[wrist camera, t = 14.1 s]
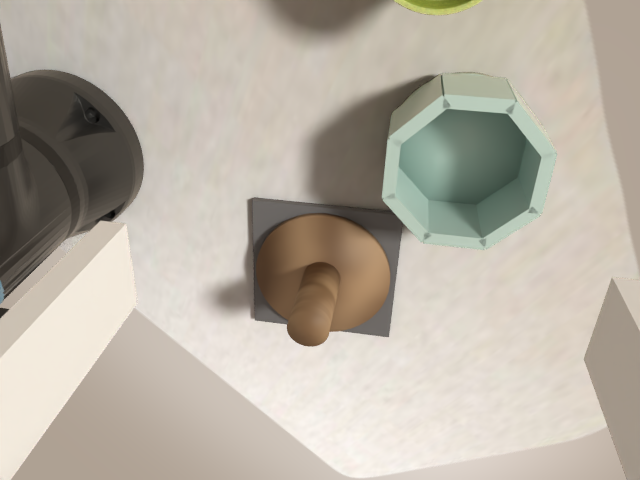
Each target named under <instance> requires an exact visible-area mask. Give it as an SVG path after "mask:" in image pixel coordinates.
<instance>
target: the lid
mask: <svg viewBox="0 0 640 480" xmlns="http://www.w3.org/2000/svg"><path fill="white" fill-rule="evenodd" d="M256 275H257V281H258V285H259V287H260V290H261V292H262V294H263V296H264V297H265V299H266V300H267V302H268V303H269V304H270V306H271V307H272V308H273V309H274V310H275V311H276V312H278V313H279V314H280V315H281V316H283V317H284V318H285V319H287V320H288V324H287V331H288V334H289V335H290V337H291V338H292V339H293V340H294V341H295V342H297V343H299V344H301V345H304V346H317V345H320V344H322V343H323V342H325V341H326V339H327V338H328V335H329V332H333V331H342V330H347V329H351V328H354V327H356V326H359V325H361V324H363V323H365V322H366V321H368V320H369V319H370V318H372V317H373V316H374V315H375V314H376V313H377V312H378V311H379V310H380V308H381V307H382V306H383V304H384V302H385V300H386V298H387V295H388V292H389V287H390V265H389V261H388V258H387V255H386V253H385V251H384V249H383V247H382V246H381V244H380V243H379V241H378V240H377V239H376V238H375V237H374V236H373V235H372V234H371V233H370V232H369V231H368V230H367V229H365V228H364V227H363V226H361V225H359V224H358V223H356V222H354V221H352V220H350V219H347V218H345V217H342V216H338V215H334V214H328V213H308V214H303V215H299V216H296V217H293V218H290V219H288V220H286V221H284V222H283V223H281V224H280V225H278V226H277V227H276V228H275V229H274V230H273V231H271V233H270V234H269V235H268V236H267V238H266V239H265V241H264V243H263V245H262V247H261V249H260V252H259V254H258V258H257V262H256Z"/></svg>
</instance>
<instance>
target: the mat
mask: <svg viewBox="0 0 640 480" xmlns="http://www.w3.org/2000/svg"><path fill="white" fill-rule="evenodd" d="M252 210H253V252H254V295H255V320H257V321H265V322H273V323H281V324H288V320H287V319H285V318H284V317H283V316H281V315H280V314H279V313H278V312H276V311H275V310H274V309H273V308H272V307H271V306H270V304H269V303H268V302H267V300H266V299H265V297H264V296H263V294H262V292H261V290H260V287H259V285H258V281H257V275H256V262H257V258H258V254H259V252H260V249H261V247H262V245H263V243H264V241H265V239H266V238H267V236H268V235H269V234H270V233H271V231H273V230H274V229H275V228H276V227H277V226H278V225H280V224H281V223H283V222H284V221H286V220H288V219H290V218H293V217H296V216H299V215H303V214H308V213H328V214H334V215H338V216H342V217H345V218H347V219H350V220H352V221H354V222H356V223H358V224H359V225H361V226H363V227H364V228H365V229H367V230H368V231H369V232H370V233H371V234H372V235H373V236H374V237H375V238H376V239H377V240H378V241H379V243H380V244H381V246H382V247H383V249H384V251H385V253H386V255H387V258H388V261H389V265H390V287H389V292H388V295H387V298H386V300H385V302H384V304H383V306H382V307H381V308H380V310H379V311H378V312H377V313H376V314H375V315H374V316H373V317H372V318H370V319H369V320H368V321H366V322H365V323H363V324H361V325H359V326H356V327H354V328H351V329H347V330H342V331H344V332H352V333H360V334H368V335H376V336H383V337H389V331H390V323H391V315H392V306H393V298H394V290H395V282H396V274H397V266H398V258H399V249H400V241H401V233H402V225H403V222H402V221H401V220H400V219H399V218H398V217H397V216H396V214H395V213H394V212H390V211H381V210H371V209H361V208H351V207H341V206H332V205H322V204H312V203H302V202H292V201H283V200H273V199H263V198H253V200H252Z"/></svg>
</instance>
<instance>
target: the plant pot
mask: <svg viewBox="0 0 640 480" xmlns="http://www.w3.org/2000/svg"><path fill="white" fill-rule="evenodd" d="M393 1H395V2H396V3H398V4H399V5H401V6H403V7H405V8H407V9H409V10H412V11H414V12H418V13H422V14H427V15H448V14H454V13H458V12H461V11H463V10H466V9H469V8H471V7H473V6H475V5H476V4H478V3H480V2H481V1H483V0H393Z"/></svg>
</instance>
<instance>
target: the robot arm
mask: <svg viewBox="0 0 640 480" xmlns="http://www.w3.org/2000/svg"><path fill="white" fill-rule="evenodd" d="M143 170H144V164H143V155H142V150H141V146H140V143H139V140H138V137H137V135H136V132H135V130H134V128H133V126H132V125H131V123H130V121H129V120H128V118H127V117H126V115H125V114H124V112H123V111H122V110H121V109H120V107H119V106H118V105H117V104H116V103H115V102H114V101H113V100H112V99H111V98H110V97H109V96H108V95H107V94H105V93H104V92H103V91H102V90H100V89H99V88H98V87H96V86H95V85H93V84H91V83H90V82H88V81H86V80H84V79H82V78H80V77H77V76H75V75H72V74H69V73H65V72H61V71H55V70H36V71H31V72H27V73H24V74H21V75H19V76H17V77H14V78H12V79H10V74H9V68H8V63H7V57H6V52H5V47H4V41H3V36H2V30H1V25H0V304H1V303H2V301H3V300H4V299H5V298H6V297H7V296H8V295H9V294H10V293H11V292H12V291H13V290H14V289H15V288H16V287H17V286H18V285H19V284H20V283H21V282H23V280H24V279H26V278H27V277H28V276H29V275H30V274H31V273H32V272H33V271H34V270H35V269H36V268H37V267H38V266H39V265H40V264H41V263H42V262H43V261H44V260H45V259H46V258H47V257H48V256H49V255H50V254H51V253H52V252H53V251H54V250H55V249H56V248H57V247H58V246H59V245H60V244H61V243H62V242H63V241H64V240H66V239H67V238H70V237H73V236H76V235H79V234H82V233H85V232H88V231H89V232H88V233H87V234H86V235H85V236H84V237H83V238H82V239H81V240H80V241H79V242H78V243H77V244H76V245H75V246H74V247H73V248H72V249H71V250H70V251H69V252H68V253H67V254H66V255H65V256H64V257H63V258H62V259H61V260H60V261H59V262H58V263H57V264H56V265H55V266H54V267H53V268H52V269H50V270H49V272H47V273H46V274H45V275H44V276H43V277H42V278H41V279H40V280H39V281H38V282H37V283H36V284H35V285H34V286H33V287H32V288H31V289H30V290H29V291H28V292H27V293H26V294H25V295H24V296H23V297H22V298H21V299H20V300H19V301H18V302H17V303H16V304H15V305H14V306H13V307H12V308H11V309H4V308H0V480H11V479H12V477H13V476H14V474H15V473H16V472H17V470H18V469H19V467H20V466H21V465H22V463H23V462H24V460H25V459H26V458H27V456H28V455H29V453H30V452H31V451H32V449H33V448H34V447H35V445H36V444H37V442H38V441H39V440H40V438H41V437H42V435H43V434H44V432H45V431H46V430H47V428H48V427H49V426H50V424H51V423H52V421H53V420H54V419H55V417H56V416H57V415H58V413H59V412H60V410H61V409H62V408H63V406H64V405H65V403H66V402H67V401H68V399H69V398H70V396H71V395H72V394H73V392H74V391H75V389H76V388H77V387H78V385H79V384H80V383H81V381H82V380H83V378H84V377H85V376H86V374H87V373H88V371H89V370H90V368H91V367H92V366H93V364H94V363H95V362H96V360H97V359H98V357H99V356H100V355H101V353H102V352H103V351H104V349H105V348H106V346H107V345H108V344H109V342H110V340H111V339H112V338H113V337H114V335H115V334H116V332H117V331H118V329H119V328H120V327H121V325H122V324H123V323H124V321H125V320H126V319H127V317H128V316H129V314H130V313H131V312H132V310H133V309H134V307H135V306H136V305H137V303H138V301H137V294H136V287H135V280H134V273H133V267H132V260H131V253H130V246H129V239H128V233H127V226H126V223H117V222H112V221H113V220H115V219H116V218H117V217H118V216H119V215H120V214H121V213H122V212H123V211H124V210H125V209H126V208H127V207H128V206H129V205H130V204H131V203H132V202H133V200H134V199H135V197H136V196H137V194H138V192H139V189H140V187H141V183H142V179H143ZM584 361H585V363H586V366H587V369H588V372H589V375H590V378H591V380H592V383H593V386H594V389H595V392H596V394H597V397H598V400H599V403H600V406H601V409H602V411H603V414H604V417H605V420H606V423H607V425H608V428H609V431H610V434H611V437H612V440H613V442H614V445H615V448H616V451H617V454H618V456H619V459H620V462H621V465H622V468H623V471H624V473H625V476H626V479H627V480H640V280H636V279H626V278H617V277H612V279H611V282H610V285H609V288H608V290H607V293H606V296H605V299H604V302H603V305H602V308H601V311H600V314H599V316H598V319H597V322H596V325H595V328H594V331H593V334H592V337H591V340H590V343H589V345H588V348H587V351H586V354H585V357H584Z"/></svg>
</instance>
